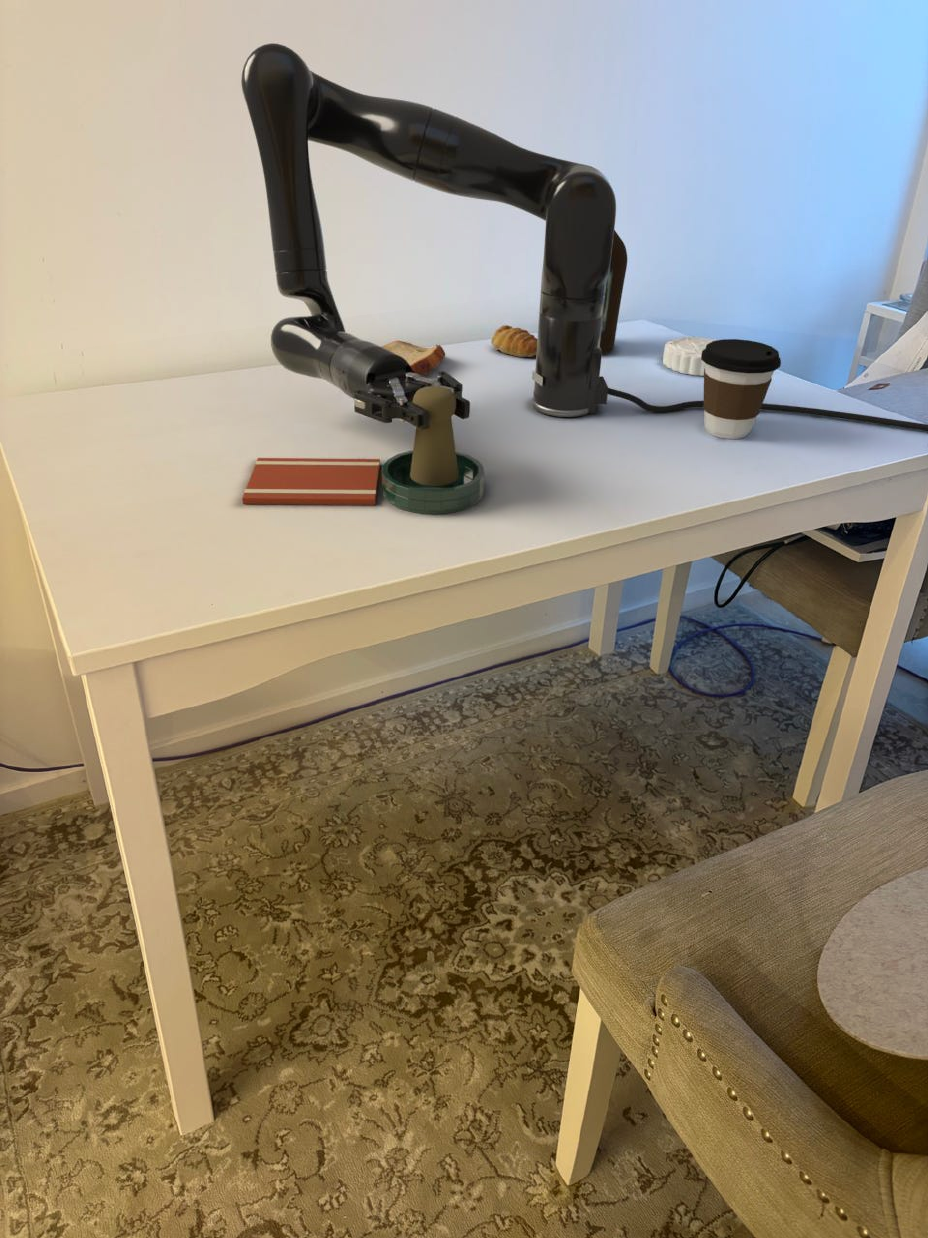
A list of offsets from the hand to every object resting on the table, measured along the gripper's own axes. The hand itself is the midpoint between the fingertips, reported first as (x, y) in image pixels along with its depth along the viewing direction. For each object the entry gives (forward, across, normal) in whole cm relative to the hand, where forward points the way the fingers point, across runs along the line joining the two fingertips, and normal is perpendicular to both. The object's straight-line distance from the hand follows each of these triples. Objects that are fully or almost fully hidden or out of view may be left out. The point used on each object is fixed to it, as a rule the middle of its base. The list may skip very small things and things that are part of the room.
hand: (447, 415), depth 107 cm
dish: (-3, 0, +11) cm, 11 cm away
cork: (-3, 0, +9) cm, 9 cm away
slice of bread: (-42, +22, +11) cm, 49 cm away
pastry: (-41, +45, +12) cm, 62 cm away
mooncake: (-18, +67, +12) cm, 70 cm away
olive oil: (-36, +57, +12) cm, 68 cm away
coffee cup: (+5, +47, +11) cm, 49 cm away
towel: (-13, -11, +11) cm, 20 cm away
